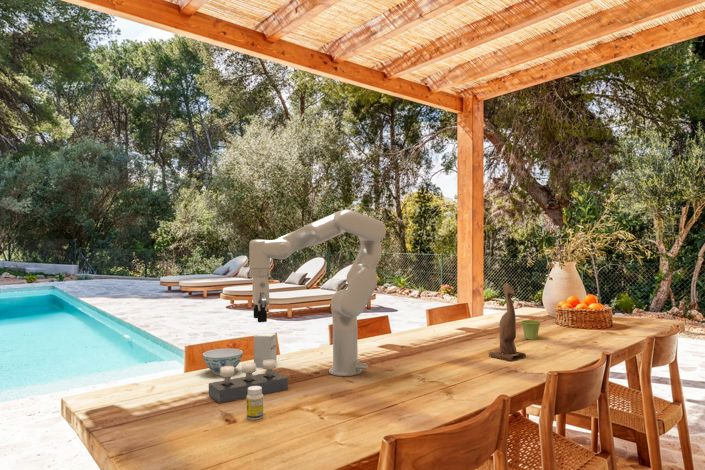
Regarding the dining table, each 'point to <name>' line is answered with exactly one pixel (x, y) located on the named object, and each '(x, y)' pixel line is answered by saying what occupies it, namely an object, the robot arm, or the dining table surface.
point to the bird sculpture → (507, 330)
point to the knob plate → (240, 387)
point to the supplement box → (264, 348)
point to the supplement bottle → (254, 403)
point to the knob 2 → (269, 366)
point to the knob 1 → (227, 374)
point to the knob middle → (248, 370)
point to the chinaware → (222, 358)
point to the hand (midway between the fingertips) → (260, 320)
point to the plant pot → (530, 329)
